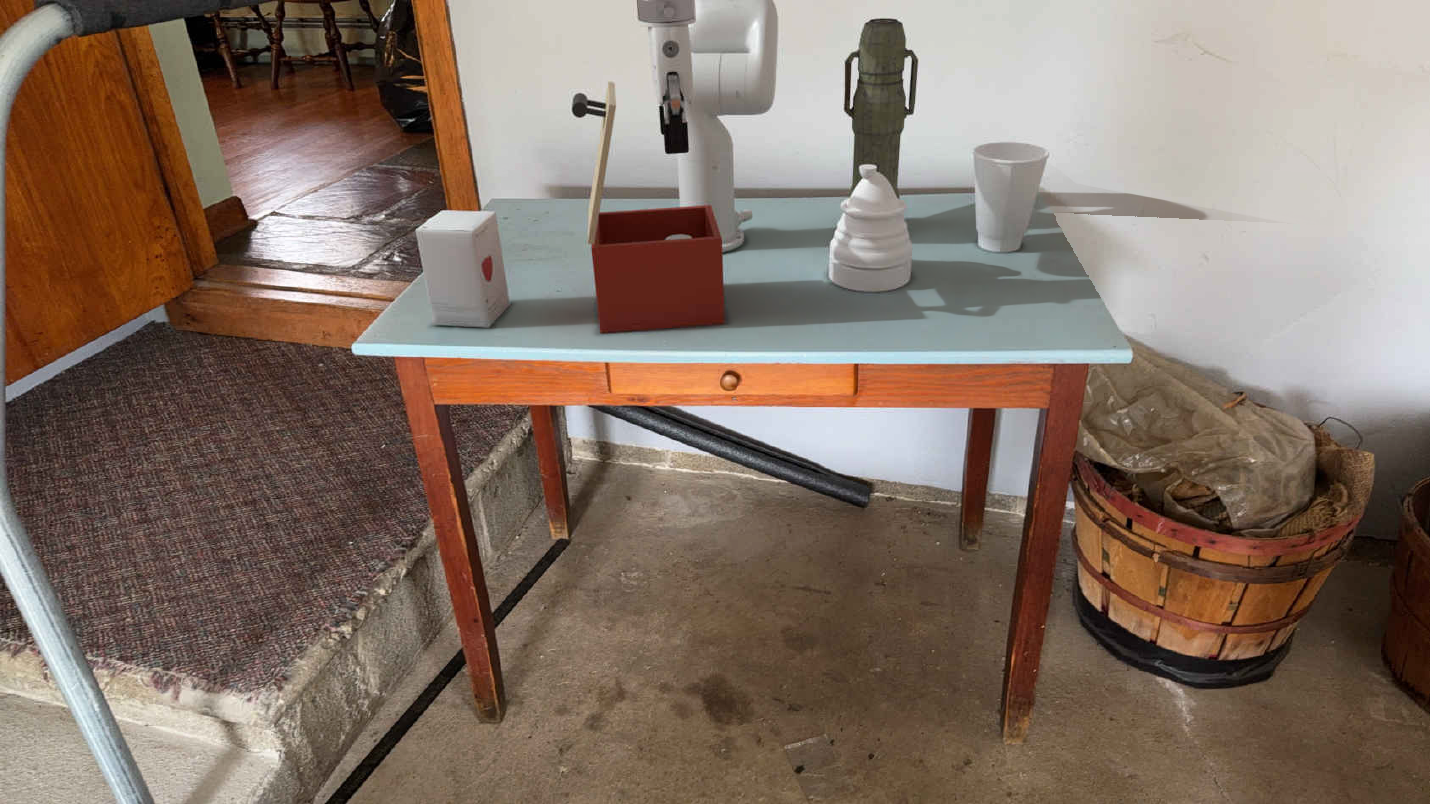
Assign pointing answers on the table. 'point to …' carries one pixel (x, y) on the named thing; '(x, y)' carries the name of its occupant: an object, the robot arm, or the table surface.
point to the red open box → (658, 269)
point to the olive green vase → (879, 98)
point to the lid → (603, 148)
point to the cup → (1006, 192)
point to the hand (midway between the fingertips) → (674, 143)
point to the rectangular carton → (463, 268)
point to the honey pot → (871, 238)
